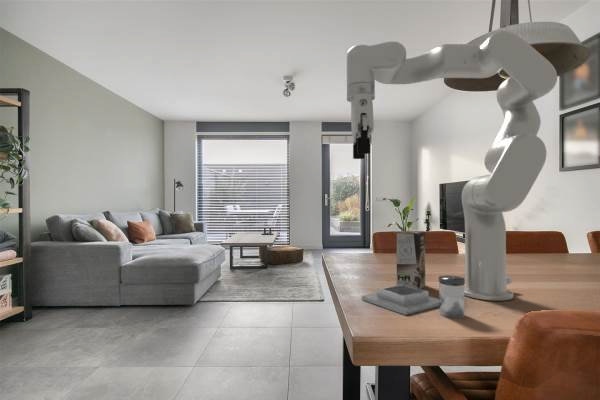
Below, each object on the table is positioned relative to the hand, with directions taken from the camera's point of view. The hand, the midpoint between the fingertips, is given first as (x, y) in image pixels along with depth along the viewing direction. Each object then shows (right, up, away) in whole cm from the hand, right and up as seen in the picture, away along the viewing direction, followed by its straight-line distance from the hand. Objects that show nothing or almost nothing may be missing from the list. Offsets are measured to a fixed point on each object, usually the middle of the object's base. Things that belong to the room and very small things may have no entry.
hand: (361, 156), depth 91 cm
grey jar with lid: (+17, -37, -18) cm, 44 cm away
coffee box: (+16, -38, +6) cm, 41 cm away
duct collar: (+9, -37, -9) cm, 39 cm away
